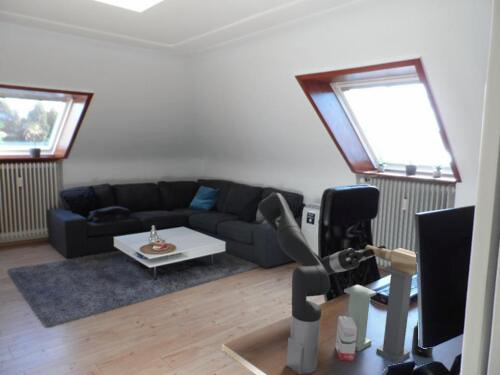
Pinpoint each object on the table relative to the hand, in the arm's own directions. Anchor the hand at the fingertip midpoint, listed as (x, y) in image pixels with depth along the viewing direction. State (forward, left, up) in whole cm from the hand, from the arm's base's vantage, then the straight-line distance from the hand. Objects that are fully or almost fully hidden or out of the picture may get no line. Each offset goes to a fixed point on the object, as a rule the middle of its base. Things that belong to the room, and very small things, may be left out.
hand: (379, 249), depth 138 cm
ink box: (-14, +1, -35) cm, 38 cm away
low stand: (-5, +3, -35) cm, 36 cm away
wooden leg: (0, -5, -4) cm, 6 cm away
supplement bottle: (+9, -15, -35) cm, 39 cm away
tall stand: (0, -9, -35) cm, 36 cm away
